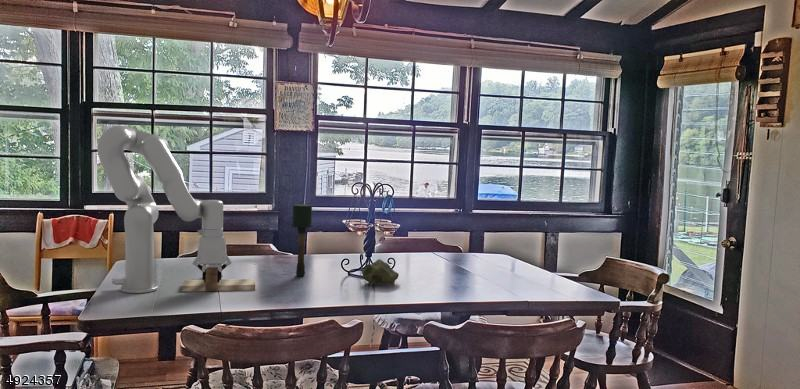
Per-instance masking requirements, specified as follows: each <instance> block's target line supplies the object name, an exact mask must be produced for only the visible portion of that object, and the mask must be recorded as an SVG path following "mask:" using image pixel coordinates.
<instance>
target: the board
mask: <svg viewBox="0 0 800 389" xmlns="http://www.w3.org/2000/svg"><path fill="white" fill-rule="evenodd" d="M231 290H232V291H256V279H255V278H239V279H238V278H237V279H235V278H233V279H229V278H226V279H222V278H221V280H220V281H219V283H217V292H219V291H220V292H222V291H231ZM181 292H207V291H206V283H204V280H202V279H184V280H183V283H182V285H181Z"/></svg>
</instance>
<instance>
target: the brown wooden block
mask: <svg viewBox="0 0 800 389" xmlns="http://www.w3.org/2000/svg"><path fill="white" fill-rule="evenodd" d="M217 273H218V266H209V265H206V291H205V292H216V291H217V283H218V282H217ZM217 292H218V291H217Z"/></svg>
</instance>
